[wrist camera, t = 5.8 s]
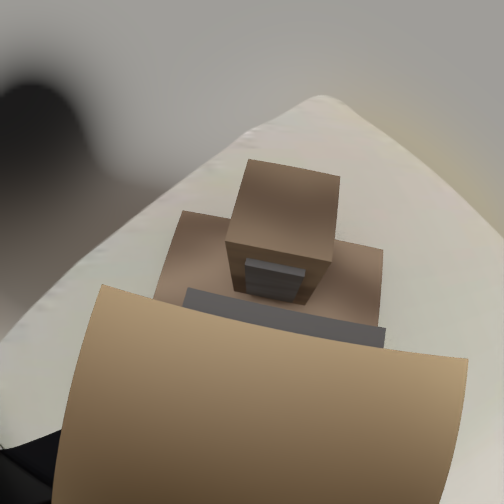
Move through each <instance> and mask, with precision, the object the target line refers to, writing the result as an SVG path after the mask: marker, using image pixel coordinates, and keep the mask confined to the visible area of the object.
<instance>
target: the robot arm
mask: <svg viewBox="0 0 504 504" xmlns="http://www.w3.org/2000/svg"><path fill="white" fill-rule="evenodd" d="M61 430H62V429H61ZM61 430H59V431H56V432H54V433H52V434H49V435H47V436H44V437H42V438H39V439H36V440H34V441H31V442H28V443H26V444H23V445H20V446H17V447H14V448H9V449H0V504H51V502H52V492H53V482H54V474H55V467H56V460H57V453H58V447H59V441H60V436H61Z"/></svg>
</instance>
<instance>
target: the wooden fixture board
mask: <svg viewBox="0 0 504 504" xmlns="http://www.w3.org/2000/svg"><path fill="white" fill-rule="evenodd" d="M339 185H340V176H335V175H331V174H326V173H321V172H316V171H312V170H307V169H302V168H296V167H291V166H286V165H280V164H275V163H269V162H263V161H257V160H251V159H248V162H247V166H246V169H245V172H244V176H243V179H242V182H241V186H240V189H239V193H238V196H237V200H236V203H235V206H234V210H233V213H232V217H231V219H228V218H222V217H217V216H211V215H206V214H200V213H194V212H189V211H182V214H181V217H180V219H179V222H178V225H177V228H176V231H175V233H174V236H173V239H172V242H171V245H170V248H169V251H168V254H167V257H166V260H165V263H164V266H163V269H162V272H161V275H160V278H159V281H158V284H157V288H156V291H155V294H154V297H153V299H154V300H158V301H161V302H165V303H169V304H173V305H176V306H180V307H182V305H183V301H184V298H185V295H186V291H187V288H188V287H190V288H194V289H198V290H202V291H206V292H210V293H214V294H219V295H223V296H227V297H232V298H236V299H241V300H245V301H249V302H254V303H259V304H263V305H268V306H272V307H277V308H282V309H287V310H292V311H296V312H301V313H306V314H311V315H316V316H322V317H327V318H332V319H337V320H343V321H348V322H353V323H359V324H365V325H370V326H376V327H378V318H379V308H380V296H381V283H382V266H383V250H381V249H377V248H372V247H368V246H363V245H358V244H354V243H349V242H344V241H339V240H335V229H336V219H337V209H338V198H339Z"/></svg>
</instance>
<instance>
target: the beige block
mask: <svg viewBox="0 0 504 504" xmlns="http://www.w3.org/2000/svg"><path fill="white" fill-rule="evenodd" d="M385 331H386V328H382V327H376V326H370V325H365V324H359V323H353V322H348V321H343V320H337V319H332V318H327V317H322V316H316V315H311V314H306V313H301V312H296V311H292V310H287V309H282V308H277V307H272V306H268V305H263V304H259V303H254V302H249V301H245V300H241V299H236V298H232V297H227V296H223V295H219V294H214V293H210V292H206V291H202V290H198V289H194V288H190V287H188V288H187V291H186V295H185V298H184V301H183V305H182V307H180V306H176V305H173V304H169V303H165V302H161V301H158V300H154V299H151V298H147V297H144V296H140V295H137V294H133V293H130V292H126V291H123V290H120V289H116V288H113V287H110V286H106V285H103V284H102V285H101V288H100V291H99V294H98V296H97V299H96V302H95V305H94V308H93V311H92V314H91V317H90V320H89V324H88V327H87V330H86V333H85V337H84V340H83V343H82V347H81V350H80V354H79V357H78V361H77V365H76V368H75V372H74V376H73V380H72V384H71V388H70V392H69V397H68V401H67V406H66V410H65V415H64V420H63V425H62V430H61V436H60V441H59V447H58V453H57V460H56V467H55V474H54V482H53V492H52V502H51V504H439V502H440V499H441V496H442V493H443V490H444V486H445V483H446V480H447V476H448V473H449V469H450V465H451V461H452V458H453V453H454V449H455V445H456V440H457V436H458V431H459V426H460V420H461V414H462V408H463V402H464V395H465V388H466V379H467V370H468V359H464V358H454V357H445V356H436V355H428V354H420V353H412V352H404V351H397V350H390V349H383V347H384V339H385Z"/></svg>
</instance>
